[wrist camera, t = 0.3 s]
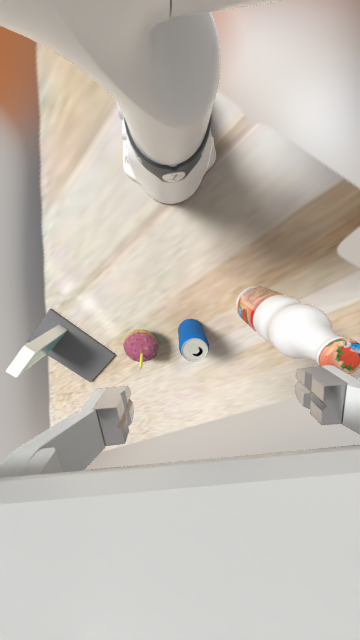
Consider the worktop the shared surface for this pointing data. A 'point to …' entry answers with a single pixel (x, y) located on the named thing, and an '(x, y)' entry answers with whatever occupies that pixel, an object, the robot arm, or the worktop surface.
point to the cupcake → (141, 346)
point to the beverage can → (192, 340)
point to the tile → (35, 350)
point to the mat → (74, 347)
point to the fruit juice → (296, 328)
